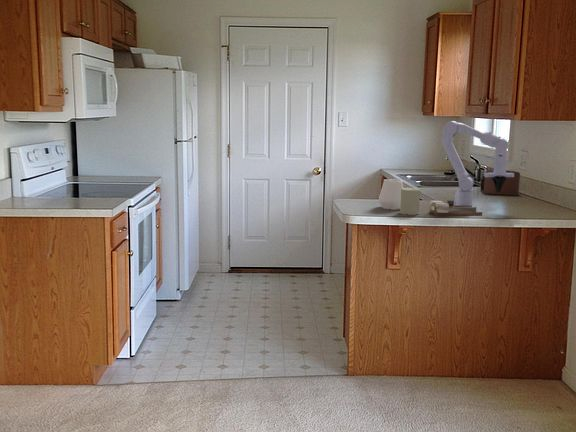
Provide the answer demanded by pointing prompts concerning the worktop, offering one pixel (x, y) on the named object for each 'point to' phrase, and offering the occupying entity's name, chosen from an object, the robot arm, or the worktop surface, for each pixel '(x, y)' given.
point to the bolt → (450, 202)
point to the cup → (391, 194)
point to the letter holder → (508, 187)
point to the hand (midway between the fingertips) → (497, 191)
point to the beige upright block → (410, 201)
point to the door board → (453, 209)
